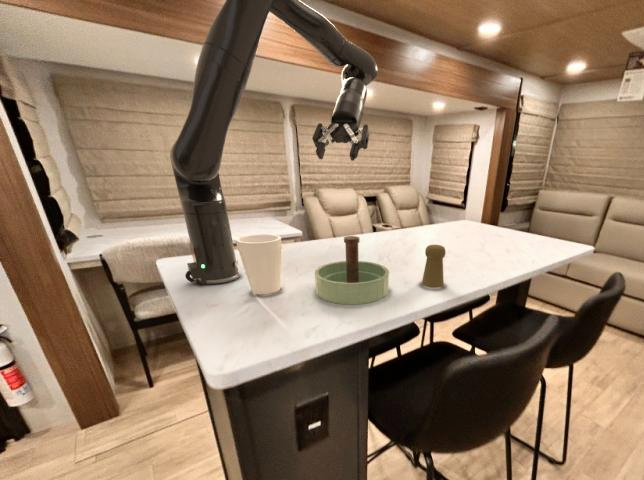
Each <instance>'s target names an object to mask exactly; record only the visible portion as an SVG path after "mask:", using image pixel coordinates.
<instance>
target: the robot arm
mask: <svg viewBox="0 0 644 480" xmlns="http://www.w3.org/2000/svg"><path fill="white" fill-rule="evenodd" d="M270 13H271V14H272V15H274V16H275V17H276V18H277V19H278V20H280V21H281V22H283V23H284V24H285V25H286V26H288V27H289V28H291V30H293V31H294V32H296V33H297V34H298V35H299V36H301V37H302V38H303V39H304V40H305V41H306V42H307V43H308V44H310V45H311V46H312V47H313V48H314V49H315V50H316V51H317V52H318V53H319V54H320V55H321V56H322V57H324V59H326V60H327V61H328V62H329V64H331V65H332V66H334V67H335V68H341V67H343V69H342V71H341V89H340V92H339V95H338V97H337V99H336V102H335V105H334V108H333V111H332V114H331V117H330V118H331V119H330V123H329V124H328V126H323V124H322V123H321V122H319V123H318V124H317V125H316V128H315V130H314V133H313V135H312V137H311V140H312V142H313V144H314V147H315V148H316V149H315V154H316V156H317V158H318V159H319V160H323V159H324V157H325V152H326V149H327V148H328V147H332V146H334V145H335V144H341V143H343V144H348V143H350V145H351V147H350V151H349V158H350V161H351V162H353V161H355V159H357V158H358V156H359V151H360V150H361V149H363V150H366V149H368V146H369V140H370V130H369V125H368V124H367V123H366V124H363V125H362V127H360V126H361V122H362V118H363V116H364V110H365V104H366V100H367V96H368V89H367V86H368V85H370V84H372V82H374V81H375V80H376V79H377V77H378V75H379V67H378V64H377V62H376V60H375V58H374V57H373V56H372V55H371V54H370V53H369V52H368V51H366V50H365V49H363V48H362V47H360V46H359V45H356V44H355V43H353V42H352V41H350V40H348V38H346V37H345V36H344V35H343V34H342V33H341V31H340V30H339V29H338V28H337V27H336V26H335V25H334V24H333V23H332V22H331V21H330V20H329V19H327V17H325V16H324V15H323V14H321V13H320V12H318V11H317V10H315V9H314V8H312V7H310V6H309V5H307V4H306V3H304V2H303V1H301V0H225V2H224V3H223V5H222V6H221V8H220V10H218V13H217V15H216V16H215V18H214V20H213V21H212V24H211V25H210V27H209V29H208V31H207V33H206V35H205V38H204V41H203V44H202V47H201V51H200V54H199V57H198V60H197V64H196V68H195V74H194V79H193V84H192V85H193V86H192V97H191V103H190V107H189V111H188V114H187V117H186V119H185V122H184V123H183V126H182V128H181V131H180V133H179V134H178V136H177V138H176V141H175V142H174V143H173V144H172V146H171V148H170V152H169V160H170V163H171V168H172V172H173V177H174V180H175V185H176V188H177V193H178V197H179V198H178V199H179V201H180V205H181V208H182V213H183V217H184V221H185V225H186V230H187V234H188V239H189V248H190V252H191V256H192V261H193V262H188V263H186V264H187V269H188V270H187V271H186V272H185V279H186V280H187V281H188V282H190V283H194V282H195V280H198V282H199V283H200V284H201V285H215V284H217V285H219V284H224V283H230V282H232V281H235V280H237V279H239V277H240V273H239V268H238V266H239V262H238V259H237V257H236V252H235V247H234V242H233V236H232V230H231V225H230V219H229V214H228V207H227V203H226V198H225V196H224V193H223V188H222V184H221V177H220V173H219V172H220V170H221V165H222V158H223V154H224V153H223V152H224V148H225V143H226V138H227V134H228V131H229V128H230V126H231V122H232V121H233V119H234V117H235V115H236V113H237V110H238V107H239V106H240V103H241V101H242V98H243V95H244V92H245V91H246V88H247V84H248V81H249V79H250V75H251V71H252V68H253V64H254V61H255V59H256V55H257V52H258V48H259V45H260V41H261V38H262V33H263V30H264V26H265V24H266V21H267V18H268V16H269V14H270ZM359 135H360V140H359V139H358V138H357V137H358V136H359Z"/></svg>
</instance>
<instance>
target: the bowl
mask: <svg viewBox="0 0 644 480" xmlns="http://www.w3.org/2000/svg"><path fill="white" fill-rule="evenodd" d="M346 280H347V279H346V260H342V261H335V262H330V263H325V264H323V265H321V266H319V267H317V268H316V269H315V271H314V281H315V293H316V295H317V297H319V298H320V299H321V300H323V301H325V302H329V303H333V304H338V305H350V306H351V305H363V304H369V303H373V302H377V301H380V300H381V299H383V298H385V297H386V296H387V295H388V294H389V291H390V271H389V269H388V268H387V267H386V266H385V265H382V264H380V263H375V262H371V261H366V260H359V280H360V281H361V282H359V283H344V281H346Z"/></svg>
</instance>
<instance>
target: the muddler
mask: <svg viewBox="0 0 644 480" xmlns="http://www.w3.org/2000/svg"><path fill="white" fill-rule="evenodd" d="M343 243H344V244H345V245H344V246H345V261H346V279H347V280H346V281H344V283H359V282H361V281H360V280H359V261H360V260H359V259H360V257H359V243H360V237H359V236H355V235H347V236H343Z"/></svg>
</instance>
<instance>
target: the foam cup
mask: <svg viewBox="0 0 644 480" xmlns="http://www.w3.org/2000/svg"><path fill="white" fill-rule="evenodd" d="M235 244H236V249H237V252H238V253H239V256H240V260H241V262H242V265H243V268H244V271H245V275H246V277H247V280H248V281H247V282H248V284H249V287H250V291H251V293H252V295H254V296H255V297H257V296H258V295H270V294H274V293H277V292H279V291H280V290H281V289H282V288H281V286H282V284H281V282H282V279H281V278H282V277H281V276H282V249H283V243H282V236H280V235H278V234H270V233H257V234H248V235H242V236H239V237H236V239H235Z"/></svg>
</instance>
